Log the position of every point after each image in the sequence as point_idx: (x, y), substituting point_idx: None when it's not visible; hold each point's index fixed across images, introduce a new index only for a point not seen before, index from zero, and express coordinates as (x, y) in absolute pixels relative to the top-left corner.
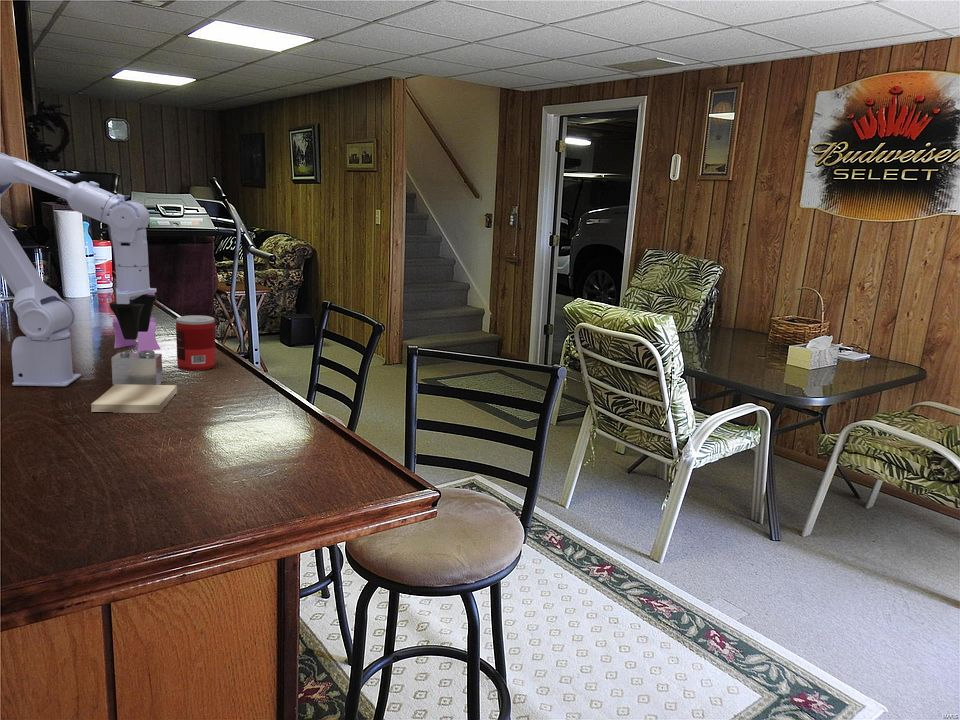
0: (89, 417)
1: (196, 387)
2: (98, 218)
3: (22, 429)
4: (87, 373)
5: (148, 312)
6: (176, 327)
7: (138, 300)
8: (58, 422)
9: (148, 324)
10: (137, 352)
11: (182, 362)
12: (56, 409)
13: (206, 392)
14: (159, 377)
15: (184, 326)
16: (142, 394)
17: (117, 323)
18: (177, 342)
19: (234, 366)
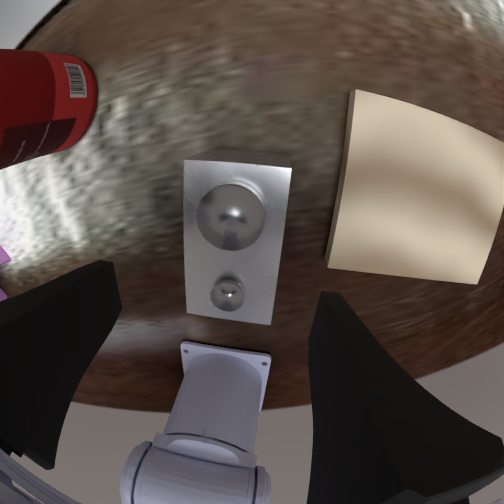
0: (488, 272)
1: (285, 42)
2: None
3: (493, 338)
4: (153, 330)
5: (34, 318)
6: None
7: (18, 423)
8: (489, 308)
9: (86, 275)
10: (10, 260)
11: (77, 127)
12: (427, 332)
13: (343, 17)
14: (249, 152)
15: None
16: (442, 186)
17: None
18: (25, 155)
19: (63, 21)
